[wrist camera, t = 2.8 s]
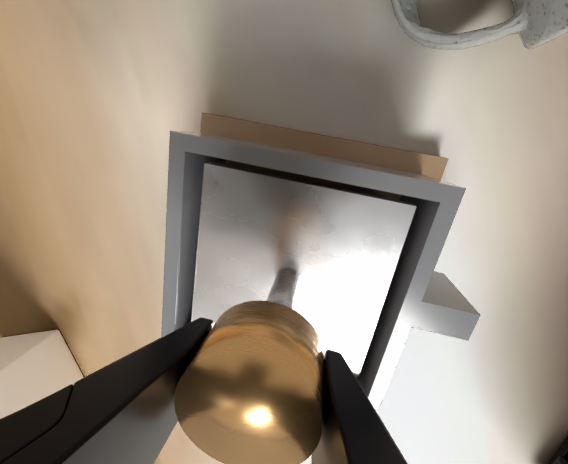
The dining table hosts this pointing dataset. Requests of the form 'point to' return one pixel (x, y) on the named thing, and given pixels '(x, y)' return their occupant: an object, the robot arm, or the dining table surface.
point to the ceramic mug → (527, 22)
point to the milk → (34, 369)
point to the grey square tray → (340, 174)
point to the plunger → (280, 307)
